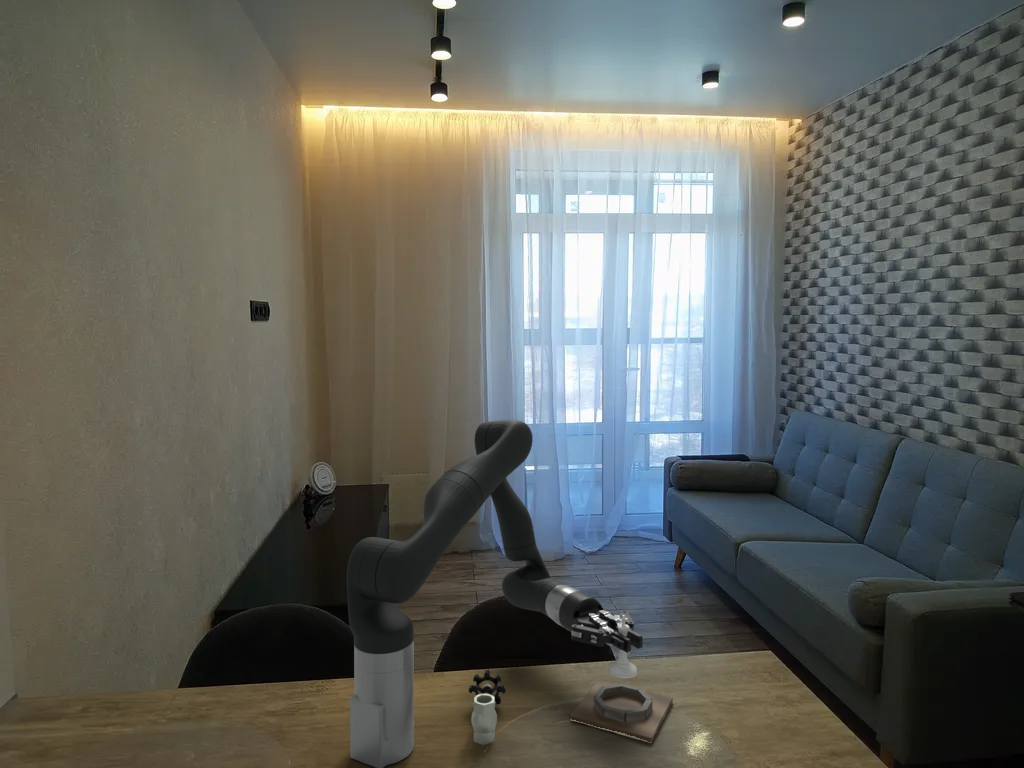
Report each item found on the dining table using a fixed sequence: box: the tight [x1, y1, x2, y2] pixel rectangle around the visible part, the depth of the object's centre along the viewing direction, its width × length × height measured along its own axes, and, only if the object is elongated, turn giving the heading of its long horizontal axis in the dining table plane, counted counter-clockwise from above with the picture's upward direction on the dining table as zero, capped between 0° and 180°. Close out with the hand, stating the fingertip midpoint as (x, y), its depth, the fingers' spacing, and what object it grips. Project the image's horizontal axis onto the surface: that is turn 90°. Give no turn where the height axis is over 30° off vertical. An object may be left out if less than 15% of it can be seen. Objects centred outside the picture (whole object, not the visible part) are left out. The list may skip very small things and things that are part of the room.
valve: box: [468, 669, 507, 746], centre depth 107 cm, size 7×7×12 cm
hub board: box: [569, 679, 674, 743], centre depth 111 cm, size 14×14×2 cm
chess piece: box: [608, 615, 638, 680], centre depth 111 cm, size 5×5×10 cm
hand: (635, 644), depth 109 cm, fingers closed on chess piece
